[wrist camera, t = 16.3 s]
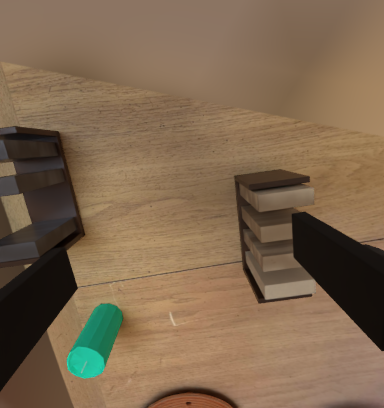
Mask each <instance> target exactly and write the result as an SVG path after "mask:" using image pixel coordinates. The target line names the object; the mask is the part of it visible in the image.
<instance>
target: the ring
mask: <svg viewBox="0 0 384 408" xmlns="http://www.w3.org/2000/svg"><path fill="white" fill-rule="evenodd" d="M147 408H233V407H232V406H231V405H230V404H228V403H227V402H225V401H223V400H221V399H219V398H216V397H213V396H210V395H206V394H200V393H192V392H190V391H188V392H186V393H182V394H176V395H171V396H168V397H165V398H162V399H160V400H158V401H156V402H155V403H153V404H151V405H150V406H149V407H147Z"/></svg>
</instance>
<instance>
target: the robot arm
mask: <svg viewBox="0 0 384 408" xmlns="http://www.w3.org/2000/svg"><path fill="white" fill-rule="evenodd" d="M292 237H293V257H294V259H295V260H296V261H297V262H298V263H299V264H300V265H301V266H302V267H303V268H304V269H305V270H306V271H307V272H308V273H309V274H310V275H311V277H312V278H313V279H314V280H315V281H316V282H317V283H318V284H319V285H320V286H321V287H322V288H323V289H324V290H325V291H326V292H327V293H328V295H329V296H330V297H331V298H332V299H333V300H334V301H335V302H336V303H337V304H338V305H339V306H340V307H341V308H342V309H343V310H344V312H345V313H346V314H347V315H348V316H349V317H350V318H351V319H352V320H353V321H354V322H355V323H356V324H357V325H358V326H359V327H360V328H361V330H362V331H363V332H364V333H365V334H366V335H367V336H368V337H369V338H370V339H371V340H372V341H373V342H374V343H375V344H376V345H377V347H378V348H379V349H380V350H381V351H384V251H383V250H381V249H379V248H376V247H373V246H370V245H366V244H365V245H362V244H360V243H359V242H357V241H355V240H353V239H352V238H350V237H348V236H346V235H345V234H343V233H341V232H340V231H338V230H336V229H334V228H333V227H331V226H329V225H327V224H326V223H324V222H322V221H320V220H319V219H317V218H315V217H313V216H312V215H310V214H308V213H306V212H299V213H292ZM77 289H78V288H77V284H76V281H75V278H74V274H73V271H72V268H71V264H70V261H69V258H68V255H67V251H66V248H65V247H60V248H54V249H51V250H50V251H49V252H47V253H46V254H45V255H43V256H42V257H41V258H40V259H38V260H37V261H36V262H35V263H33V264H32V265H31V266H29V267H28V268H27V269H26V270H25V271H23V272H22V273H20V274H19V275H18V276H17V277H15V278H14V279H13V280H12V281H10V282H9V283H8V284H6V286H4V287H3V288H1V289H0V391H1V390H2V389H3V387H4V386H5V384H6V383H7V382H8V381H9V379H10V378H11V376H12V375H13V374H14V373H15V371H16V370H17V369H18V367H19V366H20V364H21V363H22V362H23V361H24V359H25V358H26V357H27V355H28V354H29V353H30V351H31V350H32V349H33V347H34V346H35V345H36V343H37V342H38V341H39V339H40V338H41V337H42V335H43V334H44V333H45V331H46V330H47V329H48V327H49V326H50V325H51V323H52V322H53V321H54V319H55V318H56V317H57V315H58V314H59V313H60V311H61V310H62V309H63V307H64V306H65V305H66V303H67V302H68V301H69V299H70V298H71V297H72V295H73V294H74V293H75V291H76V290H77Z"/></svg>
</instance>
